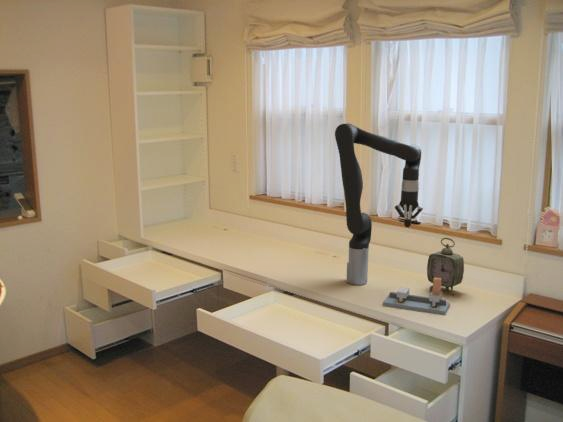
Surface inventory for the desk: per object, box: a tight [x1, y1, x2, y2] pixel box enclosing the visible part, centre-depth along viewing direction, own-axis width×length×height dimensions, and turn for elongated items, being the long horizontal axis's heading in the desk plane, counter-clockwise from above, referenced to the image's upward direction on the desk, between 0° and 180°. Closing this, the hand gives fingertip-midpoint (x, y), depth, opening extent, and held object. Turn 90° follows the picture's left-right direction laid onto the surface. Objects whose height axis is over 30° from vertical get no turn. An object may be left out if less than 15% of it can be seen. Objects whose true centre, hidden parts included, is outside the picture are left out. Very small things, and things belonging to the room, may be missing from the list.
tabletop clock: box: [426, 237, 465, 296], centre depth 281 cm, size 14×9×25 cm, turn 45°
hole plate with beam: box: [382, 286, 451, 316], centre depth 264 cm, size 26×12×6 cm, turn 66°
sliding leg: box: [429, 277, 443, 307], centre depth 260 cm, size 4×8×10 cm, turn 156°
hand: (407, 227), depth 282 cm, fingers closed
